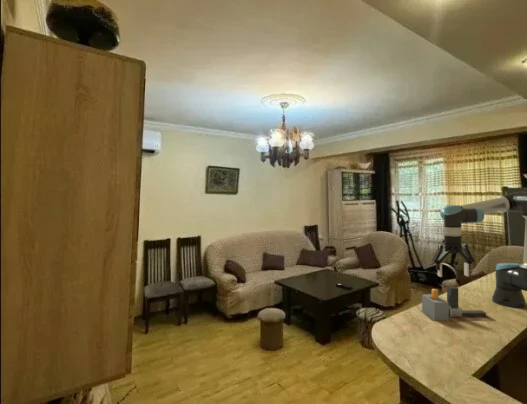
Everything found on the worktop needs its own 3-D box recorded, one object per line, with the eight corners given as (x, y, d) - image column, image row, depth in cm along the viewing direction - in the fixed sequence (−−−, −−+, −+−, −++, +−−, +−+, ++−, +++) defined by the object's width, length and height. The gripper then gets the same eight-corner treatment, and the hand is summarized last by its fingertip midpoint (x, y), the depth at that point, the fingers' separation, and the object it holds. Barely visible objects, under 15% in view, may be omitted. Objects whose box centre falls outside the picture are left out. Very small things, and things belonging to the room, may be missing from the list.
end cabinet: (435, 310, 161) (435, 294, 160) (448, 320, 149) (448, 302, 148) (422, 310, 161) (422, 294, 161) (434, 320, 149) (434, 302, 149)
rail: (481, 314, 156) (481, 310, 156) (486, 316, 153) (486, 312, 153) (440, 314, 156) (440, 310, 156) (443, 316, 153) (443, 312, 153)
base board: (478, 311, 161) (478, 310, 161) (496, 322, 148) (496, 320, 148) (419, 312, 161) (419, 310, 161) (432, 322, 148) (432, 320, 148)
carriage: (454, 312, 157) (454, 285, 157) (462, 317, 151) (462, 289, 151) (443, 312, 158) (443, 285, 157) (450, 317, 152) (450, 289, 151)
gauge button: (436, 303, 156) (436, 288, 156) (439, 306, 153) (439, 290, 153) (430, 303, 156) (430, 288, 156) (433, 306, 153) (433, 290, 153)
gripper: (472, 233, 157) (472, 273, 157) (424, 234, 157) (424, 274, 158) (482, 235, 149) (482, 277, 150) (432, 236, 150) (432, 278, 151)
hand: (453, 276), depth 154 cm, fingers open, 13 cm apart
